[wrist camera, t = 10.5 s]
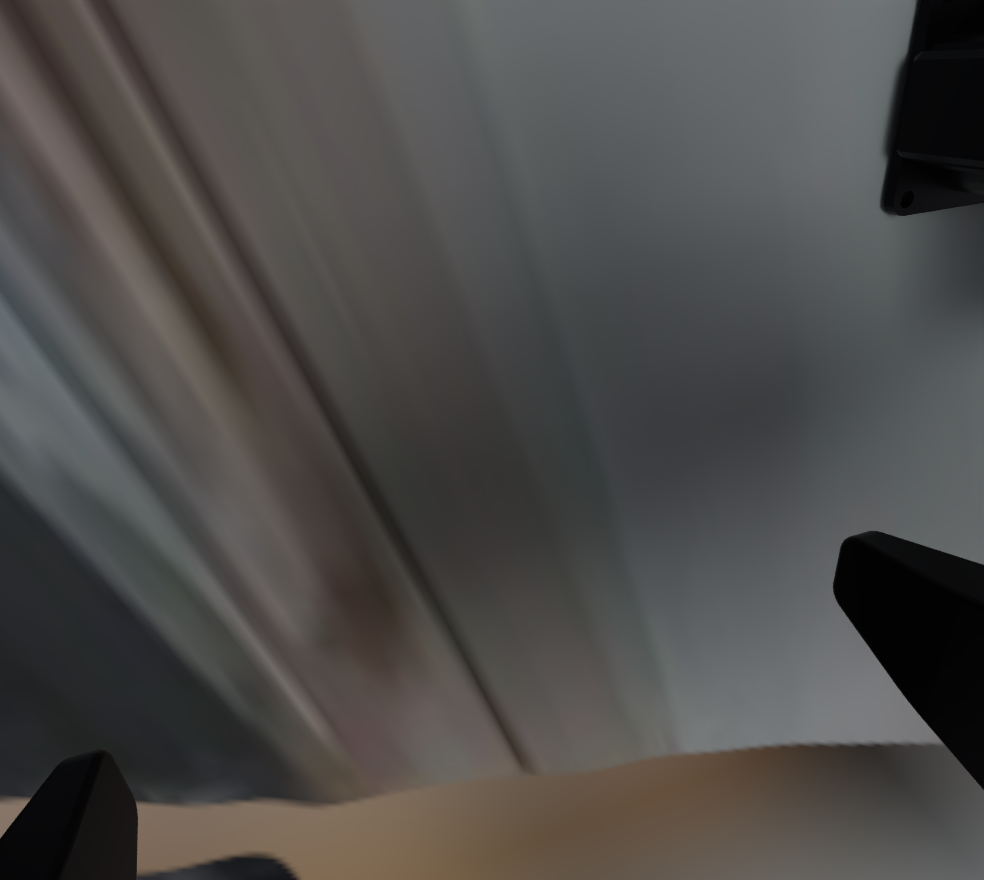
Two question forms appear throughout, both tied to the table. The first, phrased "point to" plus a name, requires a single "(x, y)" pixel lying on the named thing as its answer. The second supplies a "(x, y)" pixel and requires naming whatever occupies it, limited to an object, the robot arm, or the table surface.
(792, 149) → the table surface
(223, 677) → the table surface
